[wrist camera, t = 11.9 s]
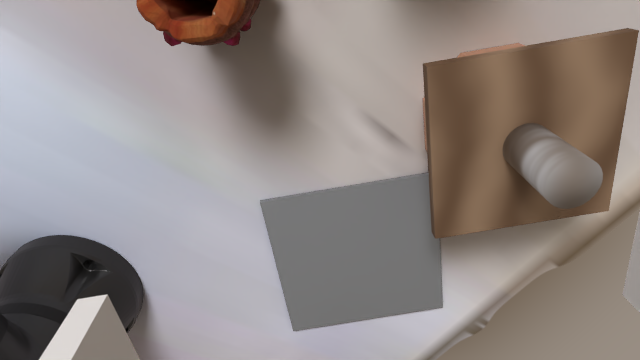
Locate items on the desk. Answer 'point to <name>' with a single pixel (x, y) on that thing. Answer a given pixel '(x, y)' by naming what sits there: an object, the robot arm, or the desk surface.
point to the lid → (526, 131)
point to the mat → (356, 251)
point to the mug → (199, 19)
